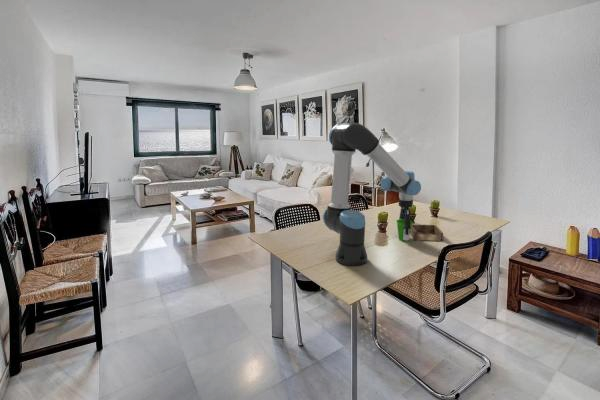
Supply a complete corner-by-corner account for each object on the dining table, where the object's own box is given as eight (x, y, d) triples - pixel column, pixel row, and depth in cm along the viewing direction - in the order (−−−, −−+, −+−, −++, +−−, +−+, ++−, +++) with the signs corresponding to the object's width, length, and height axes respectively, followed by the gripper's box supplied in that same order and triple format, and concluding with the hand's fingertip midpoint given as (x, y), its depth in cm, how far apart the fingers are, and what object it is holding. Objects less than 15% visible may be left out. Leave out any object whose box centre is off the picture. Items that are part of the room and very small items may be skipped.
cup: (413, 238, 187) (414, 220, 185) (409, 243, 180) (410, 224, 177) (397, 236, 192) (398, 218, 190) (393, 240, 184) (394, 221, 182)
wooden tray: (414, 240, 184) (415, 232, 183) (408, 232, 199) (409, 224, 198) (442, 241, 182) (443, 232, 181) (434, 232, 198) (435, 224, 197)
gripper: (418, 204, 168) (415, 243, 173) (408, 195, 192) (406, 230, 197) (403, 203, 169) (400, 243, 174) (395, 195, 193) (393, 229, 198)
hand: (403, 236), depth 185 cm, fingers open, 12 cm apart
